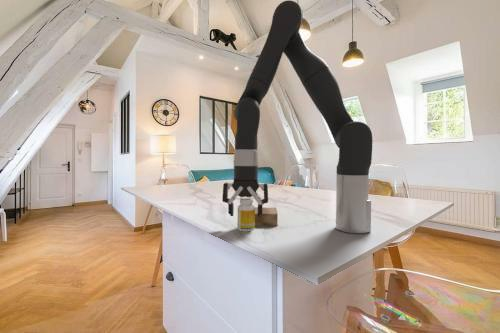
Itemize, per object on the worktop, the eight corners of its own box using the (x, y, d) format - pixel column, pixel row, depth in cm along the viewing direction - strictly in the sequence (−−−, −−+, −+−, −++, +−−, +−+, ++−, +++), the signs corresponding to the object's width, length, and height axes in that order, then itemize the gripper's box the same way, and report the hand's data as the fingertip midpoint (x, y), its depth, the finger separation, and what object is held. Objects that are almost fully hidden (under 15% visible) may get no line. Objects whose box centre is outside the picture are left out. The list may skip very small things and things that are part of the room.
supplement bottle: (234, 228, 74) (234, 198, 73) (247, 225, 77) (247, 196, 77) (244, 232, 69) (244, 200, 69) (258, 229, 73) (258, 199, 73)
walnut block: (276, 218, 87) (276, 207, 86) (277, 226, 77) (277, 214, 76) (249, 217, 87) (249, 207, 87) (247, 225, 77) (247, 213, 77)
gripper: (268, 164, 76) (267, 213, 77) (225, 163, 77) (225, 212, 78) (268, 165, 69) (268, 219, 69) (221, 164, 70) (220, 218, 70)
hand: (245, 215), depth 73 cm, fingers open, 8 cm apart
